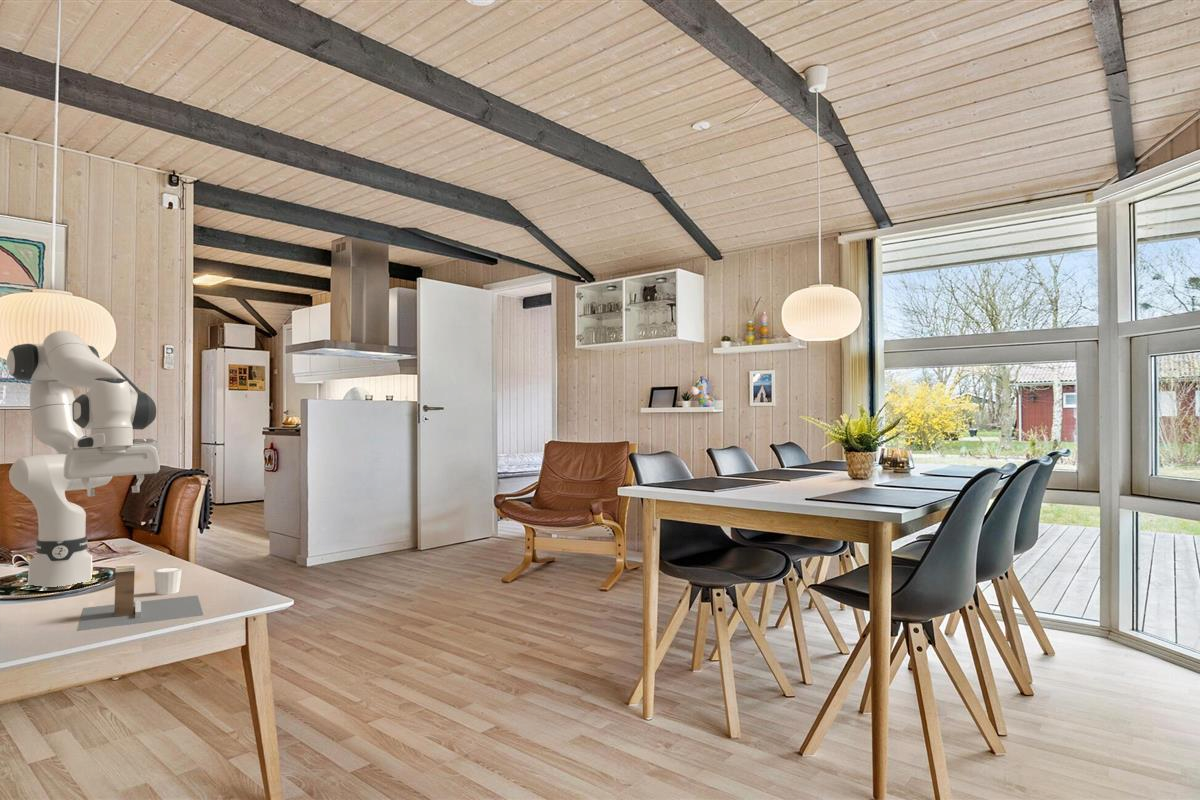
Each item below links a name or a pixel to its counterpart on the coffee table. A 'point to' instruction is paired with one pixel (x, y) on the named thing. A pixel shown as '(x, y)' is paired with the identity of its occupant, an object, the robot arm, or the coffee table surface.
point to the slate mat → (141, 612)
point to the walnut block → (124, 590)
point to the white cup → (167, 580)
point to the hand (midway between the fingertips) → (113, 494)
